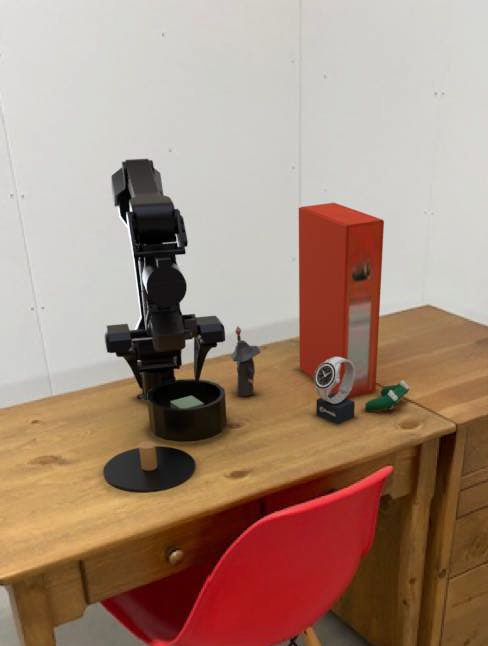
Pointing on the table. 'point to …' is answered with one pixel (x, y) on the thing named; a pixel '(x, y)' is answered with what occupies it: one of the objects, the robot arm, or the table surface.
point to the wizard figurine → (244, 365)
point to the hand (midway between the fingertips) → (169, 384)
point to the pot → (187, 410)
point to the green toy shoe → (388, 397)
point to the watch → (334, 404)
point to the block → (186, 402)
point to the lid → (149, 468)
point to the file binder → (340, 291)
